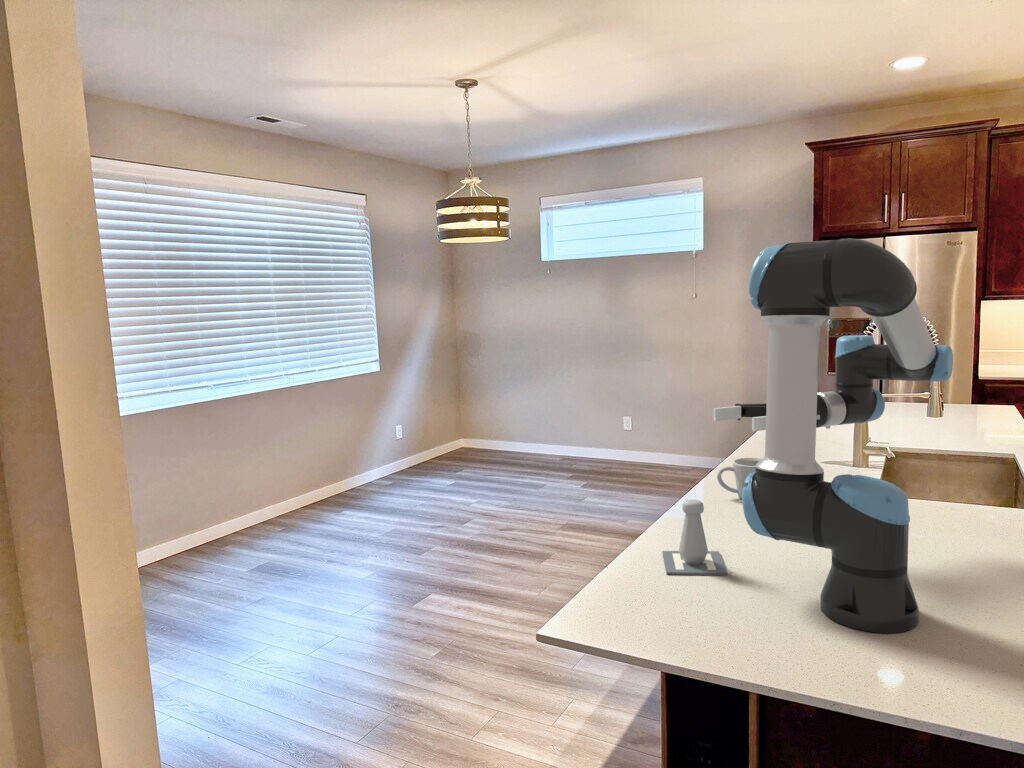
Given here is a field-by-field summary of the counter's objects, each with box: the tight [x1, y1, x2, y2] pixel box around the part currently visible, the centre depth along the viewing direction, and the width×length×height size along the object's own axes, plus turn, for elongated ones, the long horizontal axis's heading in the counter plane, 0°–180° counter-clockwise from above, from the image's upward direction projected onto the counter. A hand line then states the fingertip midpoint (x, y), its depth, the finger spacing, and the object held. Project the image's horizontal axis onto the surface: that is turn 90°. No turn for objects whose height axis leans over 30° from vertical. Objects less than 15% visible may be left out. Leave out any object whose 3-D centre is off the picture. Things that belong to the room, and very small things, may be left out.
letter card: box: [661, 550, 729, 576], centre depth 146 cm, size 12×12×1 cm
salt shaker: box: [678, 499, 709, 565], centre depth 145 cm, size 6×6×13 cm
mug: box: [716, 457, 763, 500], centre depth 190 cm, size 10×15×10 cm
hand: (732, 419), depth 145 cm, fingers open, 13 cm apart
